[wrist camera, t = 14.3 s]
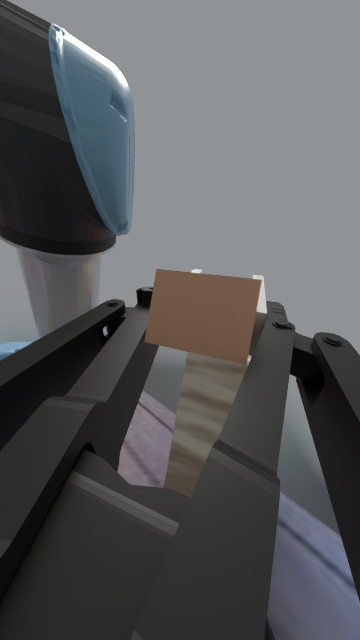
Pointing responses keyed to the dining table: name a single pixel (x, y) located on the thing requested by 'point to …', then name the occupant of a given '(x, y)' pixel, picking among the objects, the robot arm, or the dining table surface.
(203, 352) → the lever bar
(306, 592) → the dining table surface
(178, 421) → the pedestal
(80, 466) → the robot arm
